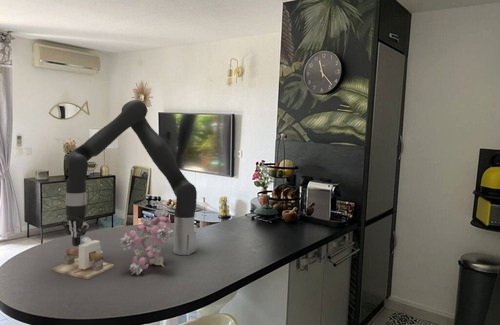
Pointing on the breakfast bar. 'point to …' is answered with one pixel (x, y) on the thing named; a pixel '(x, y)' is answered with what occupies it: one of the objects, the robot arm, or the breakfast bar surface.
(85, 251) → the collar
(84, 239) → the light grey long piece
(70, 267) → the pipe rig
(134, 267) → the flower
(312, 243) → the breakfast bar surface
